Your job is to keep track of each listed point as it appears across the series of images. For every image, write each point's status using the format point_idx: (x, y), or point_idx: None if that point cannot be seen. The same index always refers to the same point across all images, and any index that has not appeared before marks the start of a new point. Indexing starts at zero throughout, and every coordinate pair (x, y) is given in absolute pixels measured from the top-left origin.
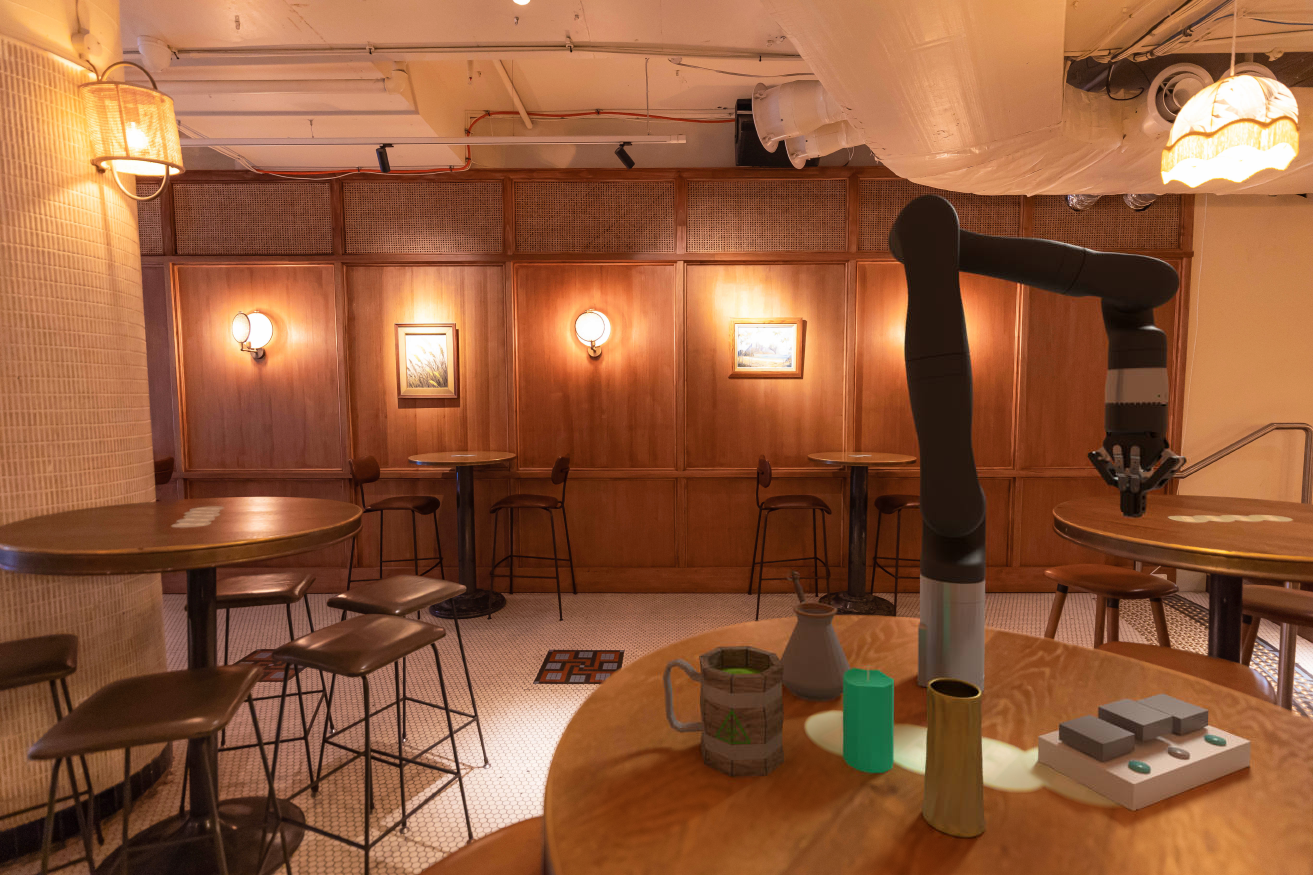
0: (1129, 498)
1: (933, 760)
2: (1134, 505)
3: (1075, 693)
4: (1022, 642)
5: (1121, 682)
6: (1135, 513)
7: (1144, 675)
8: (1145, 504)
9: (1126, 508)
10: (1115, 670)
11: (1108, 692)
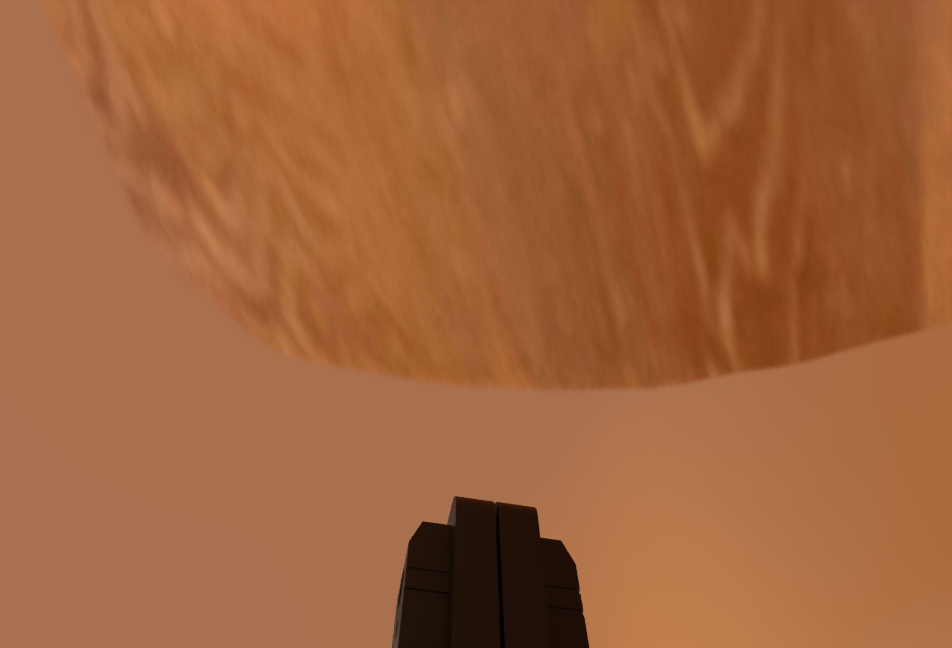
0: (493, 624)
1: None
2: (452, 576)
3: (574, 17)
4: (829, 299)
5: (521, 219)
6: (447, 526)
7: (502, 318)
8: (393, 635)
9: (513, 546)
10: (564, 293)
11: (515, 113)
